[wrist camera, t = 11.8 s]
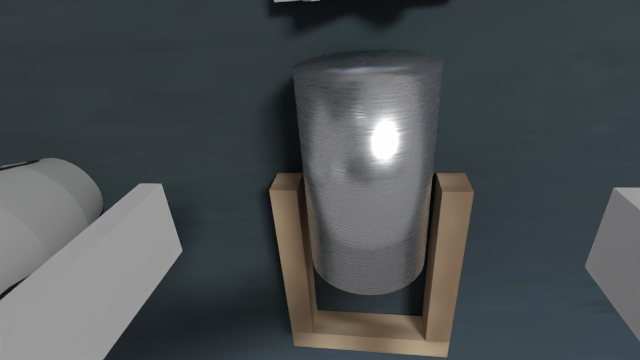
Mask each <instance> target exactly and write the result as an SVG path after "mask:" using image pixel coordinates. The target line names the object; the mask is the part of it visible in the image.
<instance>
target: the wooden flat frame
mask: <svg viewBox="0 0 640 360" xmlns="http://www.w3.org/2000/svg"><path fill="white" fill-rule="evenodd" d="M269 192H270V198H271V204H272V210H273V216H274V223H275V229H276V235H277V241H278V247H279V253H280V260H281V266H282V272H283V278H284V284H285V291H286V297H287V303H288V309H289V315H290V321H291V328H292V334H293V340H294V346H304V347H317V348H331V349H344V350H358V351H371V352H384V353H398V354H411V355H424V356H438V357H447V354H448V348H449V342H450V335H451V329H452V323H453V317H454V311H455V305H456V299H457V293H458V286H459V280H460V274H461V268H462V262H463V256H464V250H465V243H466V237H467V231H468V225H469V219H470V213H471V207H472V201H473V194H474V191H473V189H472V187H471V185H470V183H469V180H468V178H467V176H466V174H465V173H436V183H435V193H434V203H433V213H432V223H431V233H430V243H429V253H428V263H427V273H426V283H425V293H424V302H423V312H422V316H410V315H393V314H376V313H359V312H342V311H325V310H317V301H316V292H315V282H314V273H313V263H312V254H311V244H310V235H309V226H308V216H307V207H306V197H305V188H304V178H303V173H278V174H277V176H276V178H275V180H274V182H273V184H272V186H271V188H270V190H269Z"/></svg>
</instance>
